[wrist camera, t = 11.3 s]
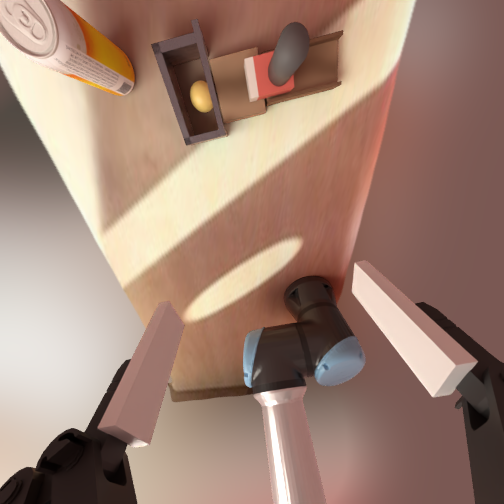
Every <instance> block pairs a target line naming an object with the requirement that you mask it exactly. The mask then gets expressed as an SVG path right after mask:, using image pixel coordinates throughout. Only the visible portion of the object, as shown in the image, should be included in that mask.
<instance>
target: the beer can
mask: <svg viewBox="0 0 504 504" xmlns="http://www.w3.org/2000/svg"><path fill="white" fill-rule="evenodd" d="M0 32H1V33H2V35H3V36H4V37H5V38H6V39H7V40H8V41H9V42H10V43H11V44H12V45H13V46H14V47H16V48H17V49H18V50H19V51H20V52H21V53H23V54H24V55H25V56H26V57H27V58H29V59H30V60H32V61H33V62H35V63H37V64H39V65H41V66H44V67H46V68H49V69H52V70H54V71H57V72H59V73H62V74H64V75H67V76H69V77H72V78H74V79H77V80H79V81H82V82H84V83H87V84H89V85H92V86H94V87H97V88H99V89H102V90H104V91H107V92H110V93H112V94H115V95H118V96H124V95H127V94H128V93H130V92H131V90H132V89H133V86H134V82H135V76H134V70H133V67H132V65H131V62H130V60H129V59H128V57H127V56H126V54H125V53H124V52H123V51H122V50H121V49H120V48H118V47H117V46H116V45H115V44H114V43H112V42H111V41H110V40H109V39H107V38H106V37H105V36H104V35H102V34H101V33H100V32H99V31H97V30H96V29H95V28H94V27H92V26H91V25H90V24H89V23H87V22H86V21H85V20H84V19H82V18H81V17H80V16H79V15H77V14H76V13H75V12H74V11H72V10H71V9H70V8H69V7H68V6H66V5H65V4H64V3H63V2H61V1H60V0H0Z"/></svg>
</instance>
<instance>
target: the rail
mask: <svg viewBox="0 0 504 504" xmlns="http://www.w3.org/2000/svg"><path fill="white" fill-rule="evenodd" d="M342 35H343V30H342V31H339V32H335V33H331V34H328V35H324V36H320V37H317V38H313V39H309V41H310V45H309V51H308V54H307V57H306V58H305V60H304V61H303V63H302V64H301V65H300V66H299V68H298V69H297V70H296V71H295V73H294V74H293V76H294V88H293V89H292V90H291V91H290V92H287V93H284V94H280V95H276V96H272V97H268V98H265V100H266V106H269V105H272V104H276V103H280V102H284V101H288V100H292V99H296V98H300V97H304V96H308V95H311V94H315V93H319V92H323V91H327V90H331V89H334V88H336V87H337V86H339V85H341V81H339V82H337V66H338V39H339V38H340V37H341V36H342ZM274 50H275V49H273V50H269V51H265V52H262V54H264V53H268V52H272V51H274Z"/></svg>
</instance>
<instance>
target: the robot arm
mask: <svg viewBox="0 0 504 504" xmlns="http://www.w3.org/2000/svg"><path fill="white" fill-rule="evenodd" d="M352 293H353V294H354V295H355V297H356V298H357V299H358V301H359V302H360V303H361V305H362V306H363V307H364V308H365V310H366V311H367V312H368V314H369V315H370V316H371V318H372V319H373V320H374V321H375V323H376V324H377V325H378V327H379V328H380V329H381V330H382V332H383V333H384V334H385V336H386V337H387V338H388V340H389V341H390V342H391V344H392V345H393V346H394V347H395V349H396V350H397V351H398V353H399V354H400V355H401V357H402V358H403V359H404V361H405V362H406V363H407V364H408V366H409V367H410V368H411V369H412V371H413V372H414V374H415V375H416V376H417V377H418V379H419V380H420V381H421V383H422V384H423V385H424V387H425V388H426V389H427V390H428V392H429V393H430V394H431V395H432V397H438V396H444V395H450V394H451V393H452V392H453V391H454V390H455V389H457V390H458V391H459V392H460V393H461V394H462V395H463V396H462V397H461V398H460V399H459V400H458V401H457V402H456V405H455V408H457V409H460V408H461V407H463V414H464V422H465V429H466V437H467V444H468V451H469V459H470V467H471V474H472V482H473V489H474V496H475V504H504V363H502V362H500V361H499V360H497V359H496V358H495V357H494V356H492V355H491V354H490V353H489V352H487V351H486V350H485V349H484V348H483V347H482V346H480V345H479V344H478V343H477V342H475V341H474V340H473V339H472V338H471V337H470V336H468V335H467V334H466V333H465V332H464V331H462V330H461V329H460V328H459V327H456V325H455V324H454V323H453V322H451V321H450V320H448V319H447V317H446V316H444V315H443V314H442V313H441V312H440V311H438V310H437V309H435V308H434V307H432V306H430V305H428V304H426V303H424V302H421V303H416V304H414V303H413V302H412V301H411V300H409V298H408V297H406V296H405V295H404V294H403V293H402V292H401V291H400V290H399V289H398V288H396V287H395V286H394V285H393V284H392V283H391V282H390V281H389V280H388V279H387V278H385V277H384V276H383V275H382V274H381V273H380V272H379V271H378V270H377V269H376V268H374V267H373V266H372V265H371V264H370V263H369V262H368V261H367V260H364V261H359V262H355V265H354V275H353V285H352ZM284 301H285V305H286V307H287V309H288V311H289V312H290V313H291V314H292V316H293V317H294V318H295V319H296V321H297V323H290V324H284V325H278V326H273V327H267V328H265V327H263V328H261V329H257V330H252V331H250V332H249V333H248V334H247V336H246V339H245V344H244V354H243V368H244V380H245V384H246V385H247V386H248V387H250V388H251V387H253V396H254V397H255V398H256V399H257V401H258V402H259V403H260V404H261V406H262V411H263V420H264V428H265V437H266V446H267V454H268V463H269V471H270V480H271V488H272V496H273V504H326V499H325V495H324V491H323V487H322V482H321V478H320V474H319V469H318V465H317V461H316V457H315V452H314V448H313V443H312V439H311V435H310V431H309V426H308V422H307V418H306V413H305V409H304V405H303V400H302V399H303V396H304V393H305V391H306V389H307V386H306V383H305V378H306V377H312V376H315V379H316V381H317V382H318V383H319V384H320V385H323V386H325V385H326V386H333V385H338V384H341V383H343V382H346V381H348V380H349V379H351V378H353V377H354V376H355V375H357V374H358V373H359V372H360V371H361V370H362V368H363V367H364V364H365V354H364V352H363V350H362V348H361V346H360V344H359V342H358V339H357V338H356V337H355V335H354V334H353V332H352V330H351V329H350V327H349V326H348V324H347V323H346V321H345V319H344V318H343V316H342V314H341V313H340V311H339V310H338V308H337V305H336V299H335V294H334V290H333V288H332V286H331V285H330V283H329V282H328V281H327V280H326V279H324V278H321V277H317V276H309V277H304V278H301V279H299V280H297V281H295V282H293V283H292V284H291V285H290V286H289V287H288V288H287V290H286V292H285V294H284ZM184 326H185V325H184V324H183V322H182V320H181V319H180V317H179V316H178V314H177V313H176V311H175V309H174V308H173V306H172V305H171V303H170V302H169V301H167V302H162V303H159V304H158V306H157V308H156V310H155V312H154V314H153V316H152V318H151V320H150V322H149V324H148V326H147V328H146V330H145V332H144V335H143V336H142V339H141V340H140V342H139V345H138V347H137V349H136V351H135V353H134V355H133V357H132V359H129V360H126V361H125V362H124V363H123V364H122V365H121V367H120V368H119V369H118V371H117V372H116V374H115V376H114V378H113V380H112V383H111V384H110V386H109V387H108V389H107V393H105V395H104V397H103V399H102V401H101V402H100V404H99V406H98V408H97V410H96V412H95V414H94V416H93V418H92V419H91V421H90V423H89V425H88V427H87V429H86V431H85V432H82V431H79V430H77V429H74V428H71V429H68V430H66V431H64V432H63V433H61V434H60V435H58V436H57V437H56V438H55V439H54V440H53V441H52V442H51V443H50V444H49V446H48V447H47V448H46V450H45V451H44V452H43V454H42V455H41V457H40V459H39V461H38V463H37V466H36V468H32V467H26V468H24V469H21V470H19V471H18V472H17V473H16V474H14V475H13V476H12V477H10V478H9V480H8V481H7V482H6V483H5V484H4V485H3V486H2V487H1V488H0V504H137V499H136V494H135V490H134V485H133V480H132V475H131V470H130V466H129V461H128V456H127V454H126V452H125V450H126V447H127V444H128V445H130V446H132V447H134V448H135V447H141V446H146V445H150V442H151V439H152V435H153V432H154V428H155V425H156V421H157V418H158V414H159V411H160V408H161V404H162V401H163V398H164V394H165V391H166V387H167V384H168V380H169V377H170V374H171V370H172V367H173V363H174V360H175V356H176V353H177V350H178V346H179V343H180V339H181V336H182V332H183V329H184Z"/></svg>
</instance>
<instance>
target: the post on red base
mask: <svg viewBox="0 0 504 504" xmlns="http://www.w3.org/2000/svg"><path fill="white" fill-rule="evenodd" d="M309 45H310V41H309V35H308V32H307V30H306V28H305V27H304V26H303V25H302V24H301V23H298V22H293V23H290V24H289V25H287V26H286V27H285V28H284V30H283V31H282V33H281V35H280V38H279V40H278V43H277V45H276V48H275V50H274V51H272V52H268V53H264V54H260V55H257V56H253V57H249V58H246V59H244V70H245V76H246V82H247V88H248V94H249V100H250V102H253V101H256V100H260V99H264V98H268V97H272V96H276V95H280V94H284V93H287V92H290V91H291V90H292V89H293V88H294V76H293V74H294V73H295V71H296V70H297V69H298V68H299V66H300V65H301V64H302V63H303V61H304V60H305V58H306V57H307V54H308V51H309Z"/></svg>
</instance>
